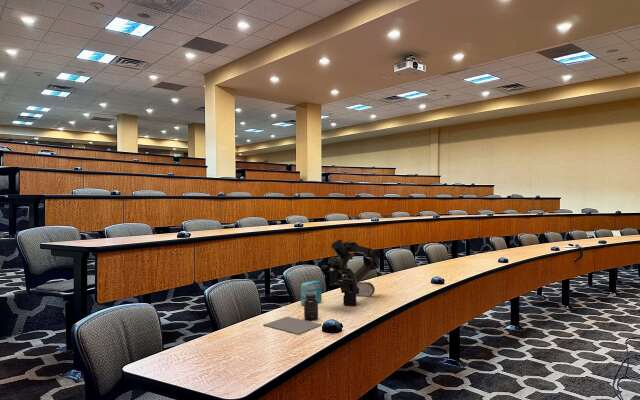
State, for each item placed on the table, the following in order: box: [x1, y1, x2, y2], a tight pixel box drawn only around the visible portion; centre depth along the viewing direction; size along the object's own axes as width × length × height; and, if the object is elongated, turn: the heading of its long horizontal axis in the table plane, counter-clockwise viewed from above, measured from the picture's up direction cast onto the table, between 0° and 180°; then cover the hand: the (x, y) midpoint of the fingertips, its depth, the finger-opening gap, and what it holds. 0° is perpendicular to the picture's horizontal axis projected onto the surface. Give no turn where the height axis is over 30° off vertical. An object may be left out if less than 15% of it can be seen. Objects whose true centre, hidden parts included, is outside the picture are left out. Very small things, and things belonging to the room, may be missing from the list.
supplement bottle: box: [303, 293, 319, 322], centre depth 202 cm, size 7×7×12 cm
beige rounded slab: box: [356, 281, 376, 298], centre depth 247 cm, size 15×3×8 cm, turn 71°
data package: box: [300, 280, 323, 306], centre depth 231 cm, size 12×4×12 cm, turn 137°
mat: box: [263, 316, 323, 336], centre depth 192 cm, size 16×22×1 cm
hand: (330, 285), depth 214 cm, fingers closed
